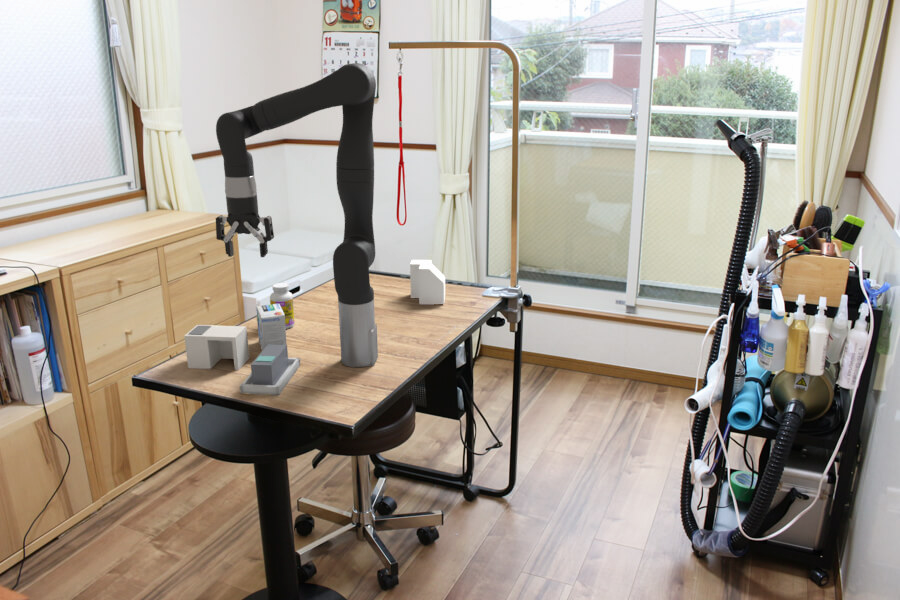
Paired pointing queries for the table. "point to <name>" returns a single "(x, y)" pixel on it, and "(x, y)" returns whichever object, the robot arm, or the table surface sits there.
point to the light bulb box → (271, 325)
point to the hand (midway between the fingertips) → (247, 256)
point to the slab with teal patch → (270, 365)
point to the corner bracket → (427, 282)
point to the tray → (271, 389)
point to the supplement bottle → (284, 302)
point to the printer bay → (216, 345)
